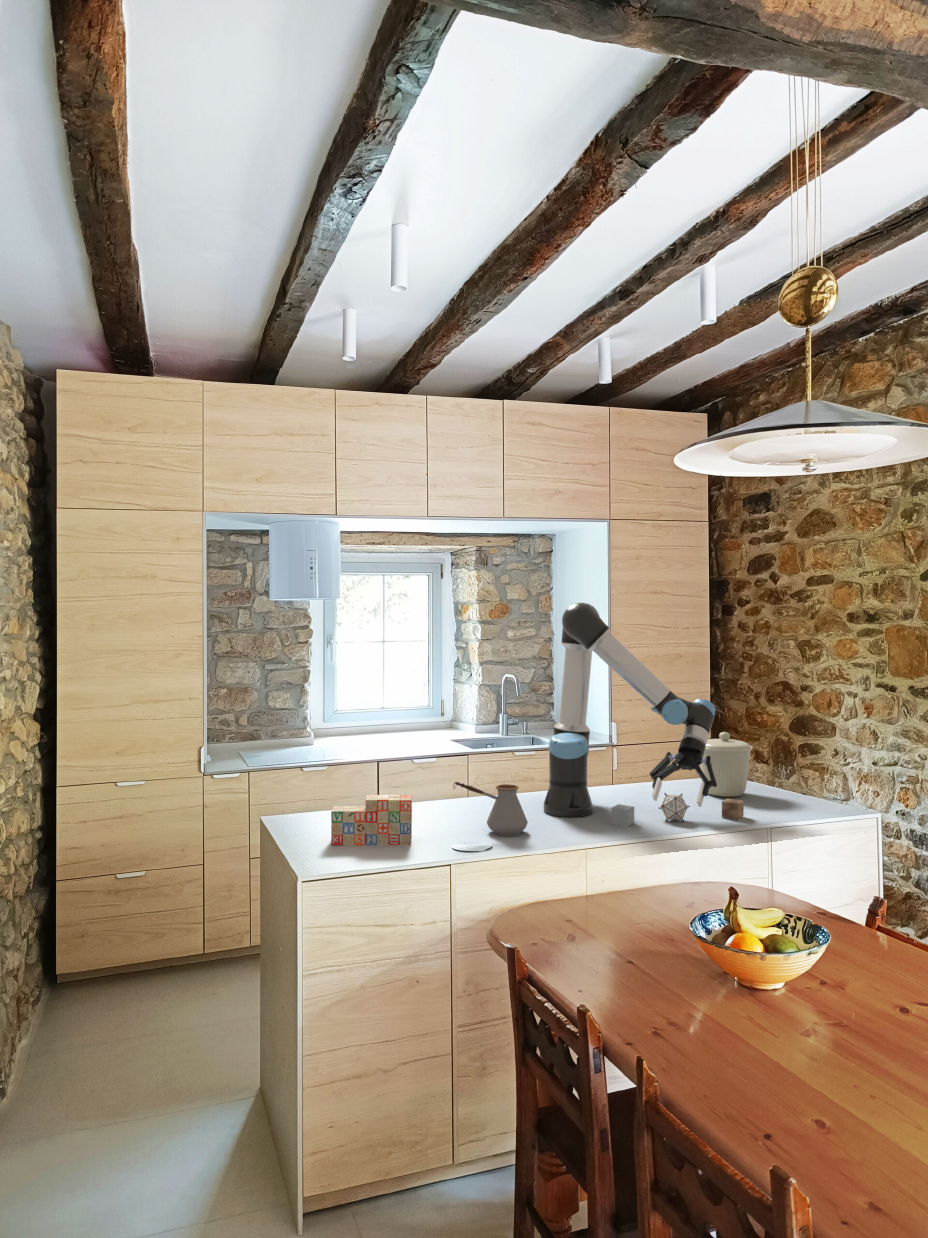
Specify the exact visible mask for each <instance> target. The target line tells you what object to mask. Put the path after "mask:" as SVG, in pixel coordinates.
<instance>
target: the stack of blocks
mask: <svg viewBox="0 0 928 1238" xmlns="http://www.w3.org/2000/svg"><path fill="white" fill-rule="evenodd" d="M412 799H413V795H411V794H409V795H408V794H407V795H406V794H366V797H365V805H357V806H356V805H334V806H333V807H332V809H331V813H330V815H331V816H330V817H331V818H330V819H331V821H330V823H331V824H330V825H331V826H330V827H331V829H330V830H331V831H330V832H331V833H330V834H331V837H330V838H331V839H330V840H331V841H330V842H331V843H330V846H412V837H413V836H412V835H413V833H412V831H413V830H412V829H413V828H412V827H413V822H412V820H413V819H412V817H413V800H412Z"/></svg>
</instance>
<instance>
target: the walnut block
mask: <svg viewBox="0 0 928 1238" xmlns="http://www.w3.org/2000/svg"><path fill="white" fill-rule="evenodd" d="M744 806H745V803H744V800H740V799H734V798H725V799H723V800H722V801H721V818H722V817H723V818H722V819H726V818H730V819H729V820H733V819H736V820H735V821H740V820H742V817H743V816H744V814H745V813H744V808H745V807H744ZM724 817H725V818H724ZM744 817H745V816H744ZM744 817H743V818H744ZM739 819H740V820H739Z"/></svg>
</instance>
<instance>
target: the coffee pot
mask: <svg viewBox="0 0 928 1238" xmlns="http://www.w3.org/2000/svg"><path fill="white" fill-rule="evenodd" d="M457 786H458V787H459V786H460V788H462V789H466V790H468V791H470V792H473V793H476V794H480V795H484V796H486V797H488V798H491V799H493V800H494V803H493V805H492V808H491V811H490V812H489V816H488V818H487V820H486V825H487V827H488V829H489V830H491V831H492V832H493V833H494V835H497V836H504V837H505V836H506V837H510V836H511V837H512V836H517V835H520V834H521V833H522V832H523V831H524V830H525V829H526V828H527V826H528V824H529V822H528V820H527V817H526V814H525V812H524V809H523V807H522V805H521V802H520V800H519V798H518V794H517V792H518V789H519V786H518V785H515V784H507V783H506V784H504V783H503V784H498V785H496V786H495V789H496V790H497V795H494V794H491V793H488V792H485V791H483V790H481V789H479V788H476V787H474V786H472V785H467V784H465V783H461V782H459V781H455V782H454V783H453V785H452V788H453V790H455V789H456V787H457Z"/></svg>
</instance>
